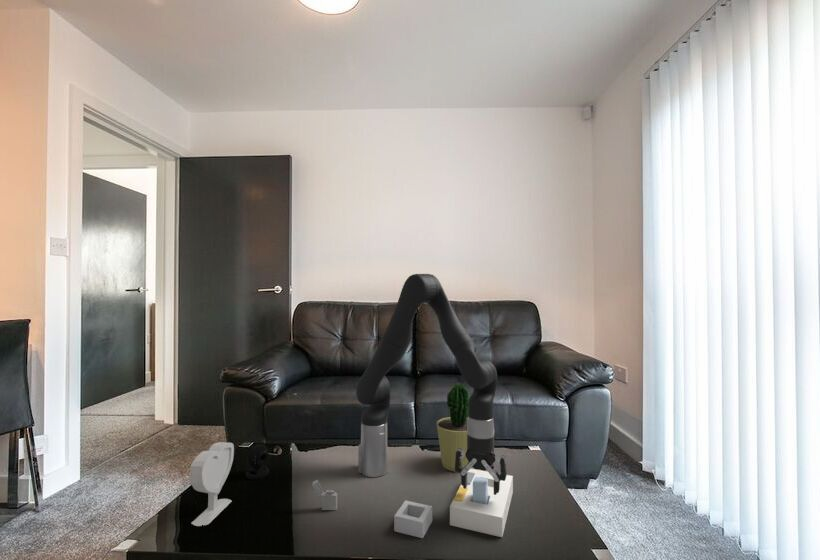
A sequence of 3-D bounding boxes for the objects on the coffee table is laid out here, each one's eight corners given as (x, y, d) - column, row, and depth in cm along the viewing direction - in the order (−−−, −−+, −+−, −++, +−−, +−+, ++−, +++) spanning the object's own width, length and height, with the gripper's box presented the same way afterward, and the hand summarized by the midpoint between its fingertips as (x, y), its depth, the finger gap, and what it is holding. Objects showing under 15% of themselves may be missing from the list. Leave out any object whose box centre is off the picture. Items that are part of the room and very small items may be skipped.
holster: (394, 531, 102) (394, 515, 102) (405, 514, 109) (405, 500, 109) (422, 538, 99) (422, 522, 99) (432, 520, 106) (432, 506, 106)
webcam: (254, 482, 127) (255, 451, 127) (240, 476, 131) (241, 446, 131) (274, 472, 134) (274, 443, 134) (260, 467, 138) (260, 439, 138)
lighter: (337, 507, 113) (337, 479, 113) (336, 510, 111) (336, 482, 111) (313, 506, 113) (313, 479, 113) (311, 510, 111) (311, 482, 111)
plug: (472, 518, 108) (472, 482, 108) (475, 511, 111) (475, 476, 111) (485, 521, 106) (485, 484, 106) (487, 514, 110) (487, 479, 110)
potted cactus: (449, 452, 151) (449, 375, 152) (485, 462, 142) (486, 381, 143) (428, 466, 139) (428, 383, 140) (466, 479, 130) (466, 389, 131)
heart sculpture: (203, 528, 102) (205, 460, 103) (186, 527, 103) (187, 459, 103) (235, 497, 118) (236, 438, 118) (220, 496, 118) (221, 437, 119)
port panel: (449, 525, 104) (449, 504, 105) (469, 483, 127) (469, 467, 127) (502, 537, 99) (502, 516, 100) (512, 491, 122) (512, 474, 122)
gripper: (452, 433, 108) (452, 491, 108) (504, 441, 103) (504, 502, 103) (459, 424, 115) (458, 479, 115) (507, 431, 110) (507, 489, 110)
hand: (480, 490), depth 109 cm, fingers open, 8 cm apart
